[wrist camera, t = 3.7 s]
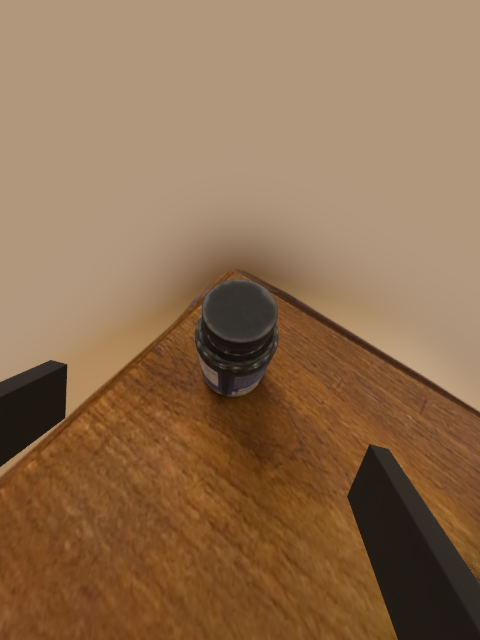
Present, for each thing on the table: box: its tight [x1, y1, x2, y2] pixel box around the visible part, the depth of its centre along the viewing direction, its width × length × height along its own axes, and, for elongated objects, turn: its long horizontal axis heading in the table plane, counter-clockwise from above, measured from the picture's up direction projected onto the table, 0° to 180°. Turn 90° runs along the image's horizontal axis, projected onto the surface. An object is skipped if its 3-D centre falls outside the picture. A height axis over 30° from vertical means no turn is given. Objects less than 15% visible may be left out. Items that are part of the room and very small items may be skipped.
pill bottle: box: [195, 280, 279, 398], centre depth 19 cm, size 6×6×11 cm
